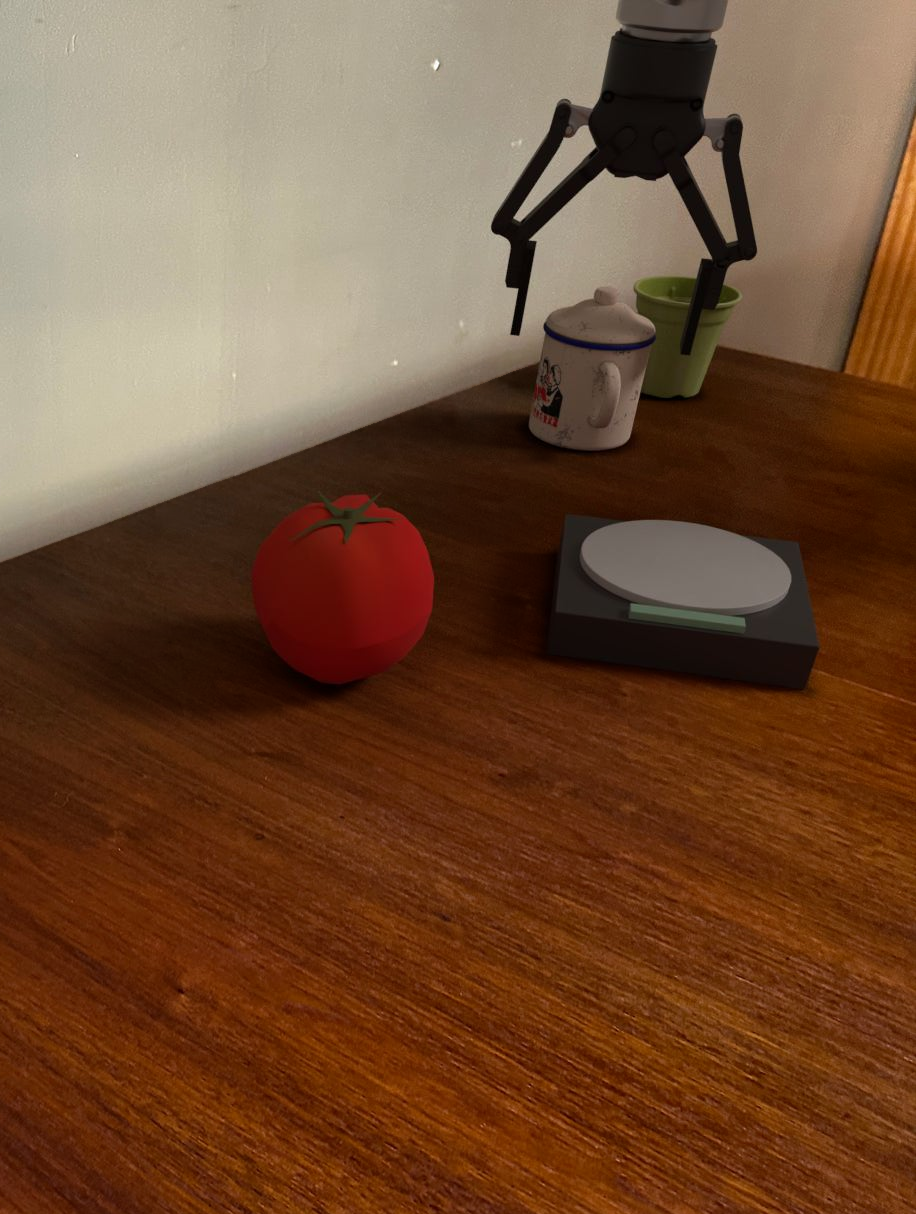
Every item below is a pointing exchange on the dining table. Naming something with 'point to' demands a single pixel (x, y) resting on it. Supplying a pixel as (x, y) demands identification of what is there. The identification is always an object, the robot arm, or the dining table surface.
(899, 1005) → the dining table surface
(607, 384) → the teacup with lid
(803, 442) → the dining table surface
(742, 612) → the scale
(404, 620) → the tomato
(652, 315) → the plant pot
